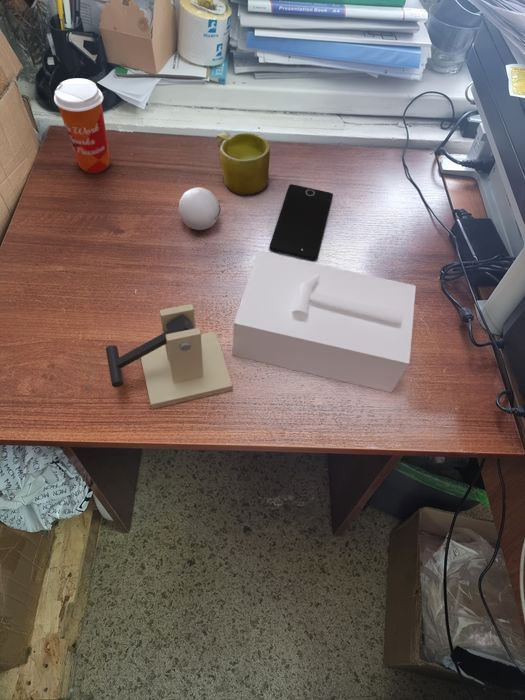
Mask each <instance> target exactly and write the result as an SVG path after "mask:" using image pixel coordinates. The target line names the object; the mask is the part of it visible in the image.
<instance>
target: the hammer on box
mask: <svg viewBox="0 0 525 700" xmlns="http://www.w3.org/2000/svg"><path fill="white" fill-rule="evenodd" d="M416 287H417V286H416V285H414V284H411V283H406V282H401V281H395V280H392V279H389V278H383V277H380V276H379V277H378V276H374V275H369V274H366V273H365V274H364V273H360V272H356V271H351V270H347V269H342V268H338V267H333V266H329V265H324V264H320V263H315V262H312V261H306V260H301V259H297V258H292V257H288V256H284V255H280V254H279V255H278V254H276V253H275V254H274V253H270V252H266V251H261V250H257V251H256V253H255V257H254V259H253V263H252V266H251V269H250V272H249V275H248V279H247V282H246V285H245V288H244V290H243V294H242V297H241V300H240V302H239V305H238V309H237V312H236V315H235V319H234V322H233V335H232V356H235V357H238V358H241V359H246V360H250V361H254V362H255V361H256V362H259V363H263V364H268V365H272V366H276V367H281V368H285V369H289V370H293V371H296V372H302V373H306V374H311V375H313V376H314V375H315V376H319V377H323V378H326V379H327V378H328V379H330V380H331V379H332V380H336V381H340V382H344V383H348V384H353V385H357V386H361V387H366V388H370V389H374V390H378V391H383V392H387V393H393V391H394V389H395V388H396V386H397V385H398V383H399V381H400V379H401V378H402V376H403V375H404V373H405V371H406V370H407V368H408V367H409V365H410V360H411V350H412V336H413V325H414V312H415V301H416Z"/></svg>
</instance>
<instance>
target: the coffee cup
mask: <svg viewBox="0 0 525 700" xmlns="http://www.w3.org/2000/svg"><path fill="white" fill-rule="evenodd" d="M53 101H54V103H55V105H56V106H57V107H58V110H59V113H60V116H61V118H62V121H63V124H64V127H65V130H66V133H67V136H68V138H69V141H70V145H71V147H72V150H73V153H74V156H75V159H76V161H77V165H78V166H79V168H80V169H81V170H82V171H83V172H86V173H91V174H93V173H94V174H95V173H101V172H103V171H105V170H106V169H108V168H109V166H110V163H111V162H110V161H111V160H110V151H109V144H108V137H107V131H106V124H105V123H106V122H105V117H104V115H105V114H104V108H103V101H104V95H103V93H102V91H101V90H100V89H99V87H98V86H97V84H96V83H95V82H93V81H92V80H90V79H86V78H78V77H77V78H68V79H66V80H63V81H61V82H59V84H58V86H57V87H56V88H55V90H54V96H53Z"/></svg>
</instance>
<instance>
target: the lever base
mask: <svg viewBox="0 0 525 700" xmlns="http://www.w3.org/2000/svg"><path fill="white" fill-rule="evenodd" d="M159 315H160V316H159V317H160V321H161V328H162V334H163V333H164V332H166V331H167V328H166V324H167V323H169V322H171V321H173V320H174V319H176V318H178V317H180V316H181V315H184V316H185V317H187V318H188V319H189V320H190V321H192V322H193V326H194V329H190V330H185V331H180V332H176V333H171V334H166V341H167V344H165V345H163V346H161V347H159V348H158V349H156V350H154V351H152V352H150V353H148V354H147V355H145V356H143V357H141V358H140V361H141V365H142V371H143V376H144V380H145V385H146V389H147V395H148V398H149V400H148V401H149V404H150V408H151V410H154V409H159V408H163V407H166V406H167V407H168V406H171V405H175V404H180V403H184V402H189V401H193V400H197V399H202V398H205V397H209V396H215V395H218V394H222V393H226V392H231V391H233V387H234V386H233V385H234V384H233V382H232V379H231V376H230V373H229V370H228V369H229V368H228V366H227V363H226V360H225V356H224V353H223V349H222V347H221V344H220V341H219V337H218V334H217V331H216V330H215V331H210V332H206V333H202V332H201V328H200V327H196V319H195V318H196V317H195V308H194V305H193V303H190V304H183V305H178V306H174V307H169V308H164V309H159Z"/></svg>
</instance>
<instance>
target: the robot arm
mask: <svg viewBox="0 0 525 700" xmlns="http://www.w3.org/2000/svg"><path fill="white" fill-rule="evenodd" d="M23 1H24V3H25V4H26V5H27V7H28V8H29V9H32V8H34V7H35V5H36V4H37V2H38V0H23ZM2 17H3V16H2V15H1V13H0V20H2Z"/></svg>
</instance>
